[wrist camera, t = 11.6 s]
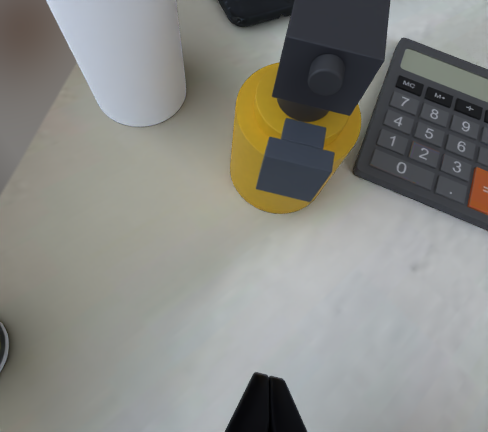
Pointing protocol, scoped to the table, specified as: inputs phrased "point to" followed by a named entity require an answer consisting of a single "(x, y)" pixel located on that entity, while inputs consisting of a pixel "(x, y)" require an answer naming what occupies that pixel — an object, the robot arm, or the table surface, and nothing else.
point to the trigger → (296, 161)
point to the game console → (255, 10)
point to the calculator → (431, 132)
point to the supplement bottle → (3, 345)
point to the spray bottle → (309, 88)
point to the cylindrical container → (127, 55)
